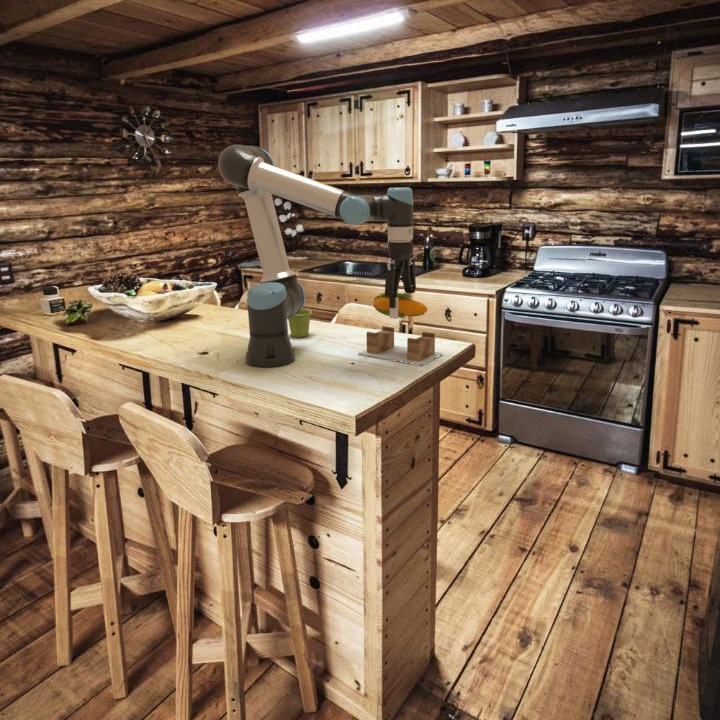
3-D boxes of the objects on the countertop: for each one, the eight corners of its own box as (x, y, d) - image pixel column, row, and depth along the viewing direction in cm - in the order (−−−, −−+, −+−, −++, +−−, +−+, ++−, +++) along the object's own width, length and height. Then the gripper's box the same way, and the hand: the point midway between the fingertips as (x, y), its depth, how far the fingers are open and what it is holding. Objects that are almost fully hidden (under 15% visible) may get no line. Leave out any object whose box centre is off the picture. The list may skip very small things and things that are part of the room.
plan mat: (421, 366, 180) (421, 364, 180) (358, 354, 193) (358, 353, 192) (443, 355, 191) (443, 353, 191) (382, 345, 204) (382, 343, 203)
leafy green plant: (78, 334, 250) (87, 307, 254) (95, 332, 244) (103, 305, 248) (54, 323, 241) (63, 296, 245) (70, 321, 235) (79, 293, 239)
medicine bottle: (51, 316, 259) (46, 288, 256) (42, 314, 263) (37, 287, 259) (66, 313, 265) (62, 286, 261) (57, 311, 268) (53, 284, 265)
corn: (381, 287, 194) (434, 293, 182) (383, 310, 197) (435, 317, 185) (367, 292, 189) (420, 299, 177) (368, 316, 192) (421, 324, 179)
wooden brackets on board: (418, 363, 182) (418, 340, 180) (366, 354, 193) (366, 332, 191) (434, 355, 190) (435, 333, 188) (383, 347, 201) (383, 326, 199)
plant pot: (308, 339, 213) (307, 315, 210) (283, 338, 215) (281, 314, 212) (315, 333, 222) (315, 309, 219) (291, 332, 223) (290, 309, 221)
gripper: (393, 244, 172) (393, 323, 178) (427, 238, 187) (427, 311, 194) (371, 243, 176) (372, 320, 182) (407, 237, 191) (407, 309, 198)
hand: (400, 315), depth 188 cm, fingers closed on corn, 7 cm apart
